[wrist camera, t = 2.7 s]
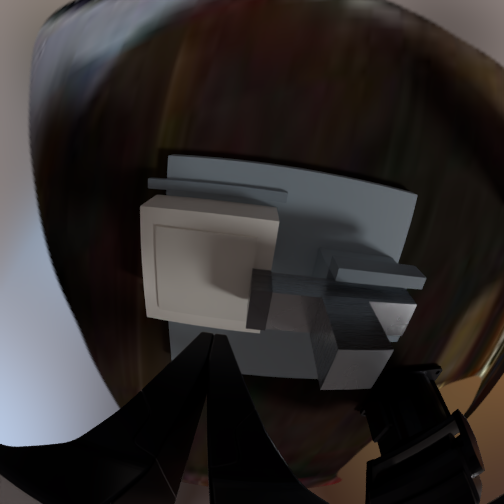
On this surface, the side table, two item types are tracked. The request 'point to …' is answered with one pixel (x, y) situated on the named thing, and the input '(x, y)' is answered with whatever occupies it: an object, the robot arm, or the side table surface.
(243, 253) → the cover
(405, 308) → the grey stepped block
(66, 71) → the side table surface
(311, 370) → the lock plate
